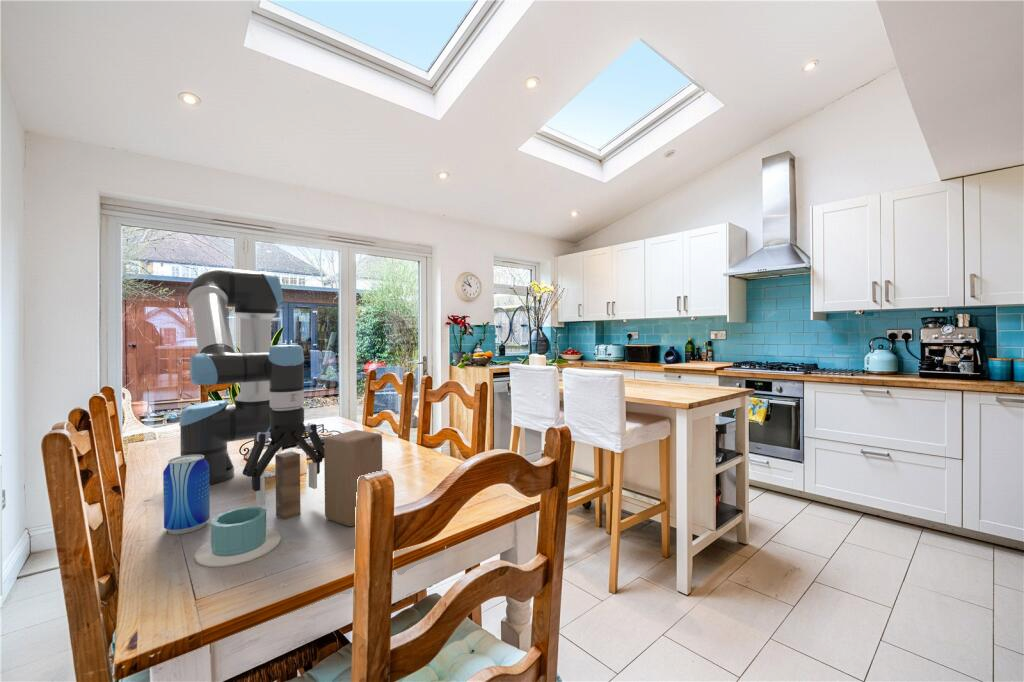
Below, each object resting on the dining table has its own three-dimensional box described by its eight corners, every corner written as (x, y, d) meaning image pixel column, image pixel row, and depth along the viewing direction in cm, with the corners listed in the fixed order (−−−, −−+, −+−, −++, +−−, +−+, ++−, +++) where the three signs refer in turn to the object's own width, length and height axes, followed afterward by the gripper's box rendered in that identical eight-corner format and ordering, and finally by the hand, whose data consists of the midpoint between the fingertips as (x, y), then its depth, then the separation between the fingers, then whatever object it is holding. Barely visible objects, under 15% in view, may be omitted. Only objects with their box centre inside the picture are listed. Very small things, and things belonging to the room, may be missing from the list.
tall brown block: (275, 515, 105) (275, 454, 104) (292, 510, 108) (291, 451, 108) (284, 519, 102) (283, 457, 102) (300, 514, 105) (299, 453, 105)
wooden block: (384, 513, 106) (383, 433, 106) (350, 529, 97) (350, 442, 97) (357, 505, 111) (356, 428, 111) (323, 519, 102) (322, 436, 102)
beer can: (172, 522, 101) (171, 455, 100) (214, 517, 104) (213, 451, 103) (157, 538, 93) (156, 465, 93) (203, 532, 96) (202, 461, 96)
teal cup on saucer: (183, 551, 87) (182, 519, 87) (261, 524, 99) (260, 496, 99) (212, 575, 79) (212, 540, 78) (294, 543, 91) (293, 512, 91)
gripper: (239, 417, 93) (240, 515, 93) (340, 402, 112) (341, 484, 113) (224, 413, 97) (226, 507, 97) (325, 400, 117) (325, 478, 117)
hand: (288, 495), depth 105 cm, fingers open, 12 cm apart
